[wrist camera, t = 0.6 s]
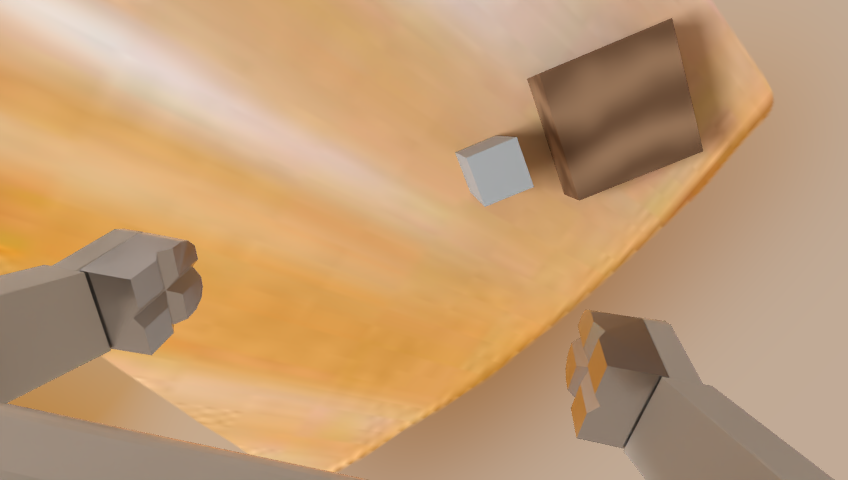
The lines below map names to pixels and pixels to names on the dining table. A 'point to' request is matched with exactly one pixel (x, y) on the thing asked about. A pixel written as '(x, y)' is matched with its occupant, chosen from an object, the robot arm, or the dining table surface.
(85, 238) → the dining table surface
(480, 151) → the slate block
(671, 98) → the walnut block
